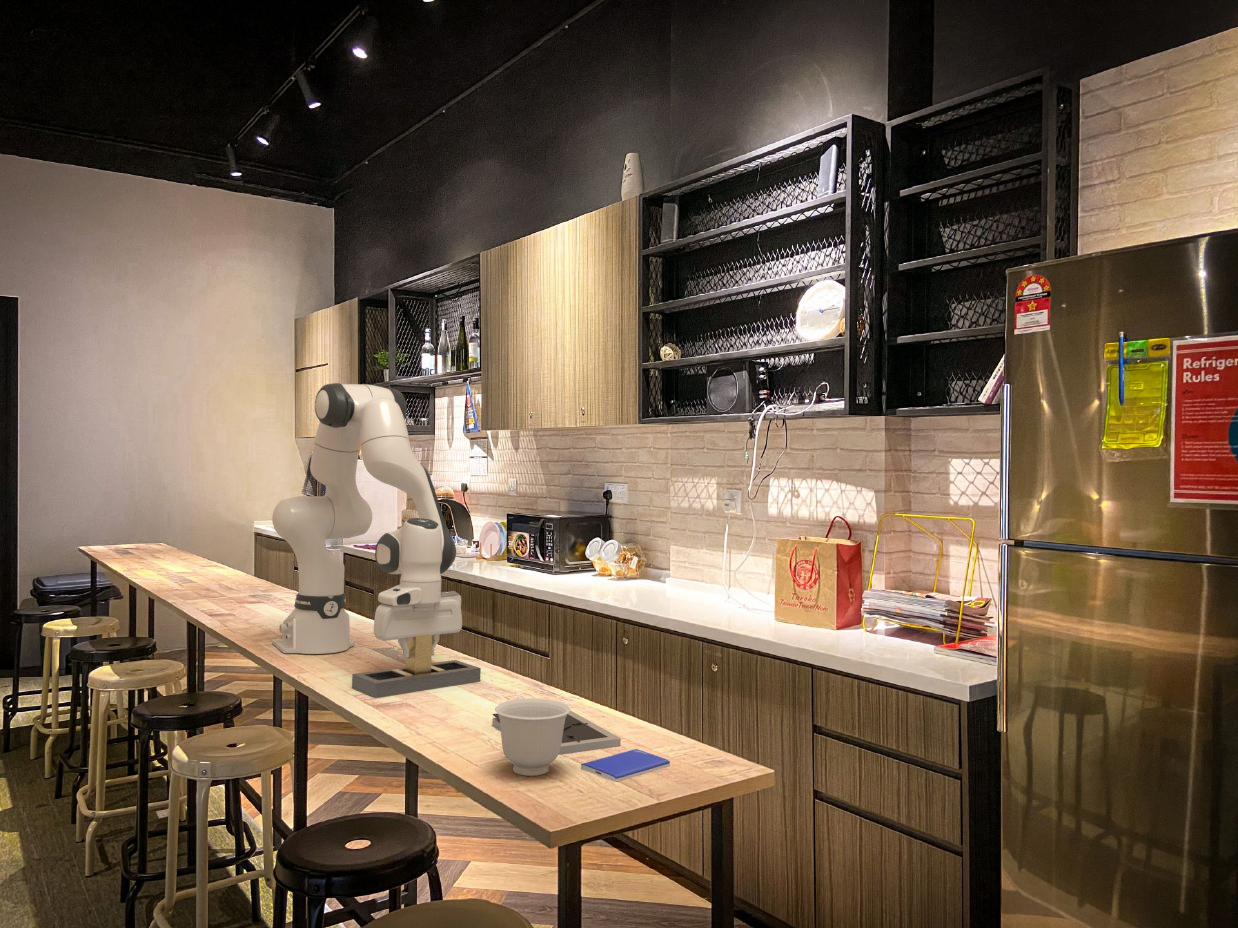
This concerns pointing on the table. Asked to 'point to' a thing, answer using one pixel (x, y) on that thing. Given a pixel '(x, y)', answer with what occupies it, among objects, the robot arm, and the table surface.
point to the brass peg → (419, 655)
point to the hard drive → (625, 765)
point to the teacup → (531, 733)
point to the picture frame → (579, 735)
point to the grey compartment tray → (415, 679)
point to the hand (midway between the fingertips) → (418, 656)
